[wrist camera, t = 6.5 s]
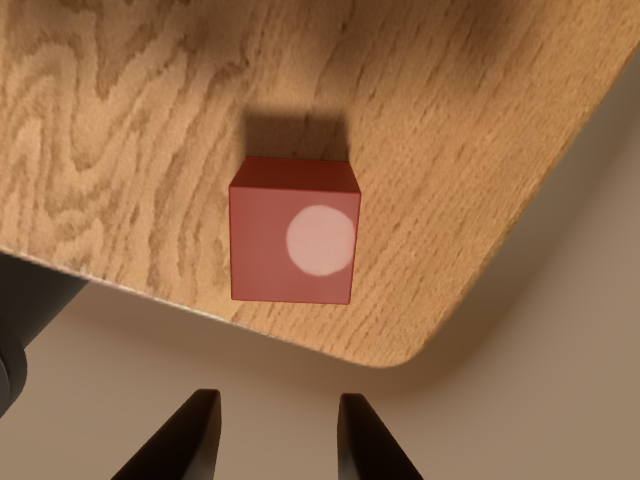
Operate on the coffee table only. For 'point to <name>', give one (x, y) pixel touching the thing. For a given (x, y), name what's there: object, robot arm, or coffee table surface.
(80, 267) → the coffee table surface
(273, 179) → the block
